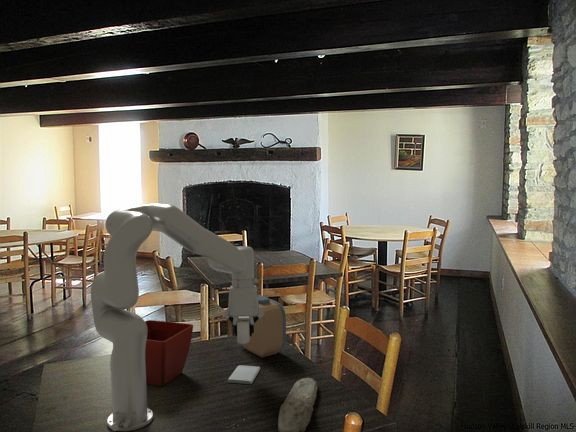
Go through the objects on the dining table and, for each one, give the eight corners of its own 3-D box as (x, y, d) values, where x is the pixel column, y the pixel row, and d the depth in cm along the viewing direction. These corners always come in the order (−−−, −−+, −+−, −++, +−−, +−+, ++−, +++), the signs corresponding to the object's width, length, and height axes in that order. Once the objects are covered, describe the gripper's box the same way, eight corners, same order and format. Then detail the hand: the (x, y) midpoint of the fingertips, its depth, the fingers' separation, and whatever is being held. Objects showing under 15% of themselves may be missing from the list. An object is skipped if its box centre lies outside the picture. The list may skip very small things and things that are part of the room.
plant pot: (149, 363, 188) (148, 318, 187) (195, 370, 182) (194, 324, 180) (116, 384, 170) (114, 335, 169) (165, 392, 164) (164, 341, 162)
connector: (248, 343, 171) (248, 323, 170) (236, 343, 171) (236, 323, 170) (251, 332, 182) (250, 313, 181) (240, 333, 182) (239, 313, 181)
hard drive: (251, 381, 170) (260, 366, 182) (227, 379, 171) (238, 364, 184) (251, 385, 170) (260, 370, 182) (227, 384, 172) (238, 369, 184)
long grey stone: (323, 389, 169) (293, 389, 171) (322, 374, 169) (292, 373, 170) (308, 440, 134) (271, 439, 136) (307, 420, 134) (270, 419, 136)
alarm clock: (286, 355, 195) (286, 300, 192) (266, 361, 189) (265, 304, 187) (257, 341, 211) (256, 289, 209) (237, 346, 205) (236, 293, 203)
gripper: (268, 280, 177) (268, 331, 179) (219, 280, 178) (221, 331, 179) (267, 285, 170) (267, 338, 172) (216, 285, 170) (218, 339, 172)
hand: (244, 334), depth 176 cm, fingers closed on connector, 4 cm apart
